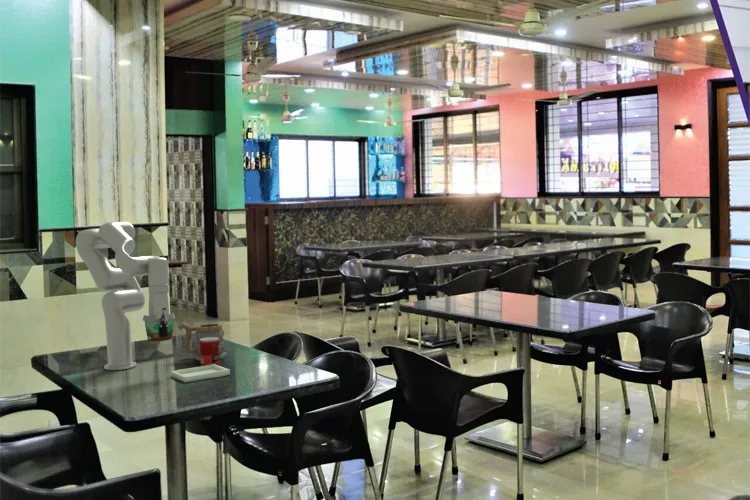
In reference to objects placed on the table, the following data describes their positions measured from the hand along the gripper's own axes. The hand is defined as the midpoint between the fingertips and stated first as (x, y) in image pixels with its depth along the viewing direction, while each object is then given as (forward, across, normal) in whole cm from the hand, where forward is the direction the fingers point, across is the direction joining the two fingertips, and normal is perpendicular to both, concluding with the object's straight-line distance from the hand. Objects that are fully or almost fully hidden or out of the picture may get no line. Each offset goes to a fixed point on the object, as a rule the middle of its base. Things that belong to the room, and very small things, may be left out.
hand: (160, 335), depth 302 cm
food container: (+2, +1, 0) cm, 2 cm away
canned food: (+16, -2, +21) cm, 26 cm away
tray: (+15, +13, +10) cm, 22 cm away
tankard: (+16, -19, +25) cm, 35 cm away
